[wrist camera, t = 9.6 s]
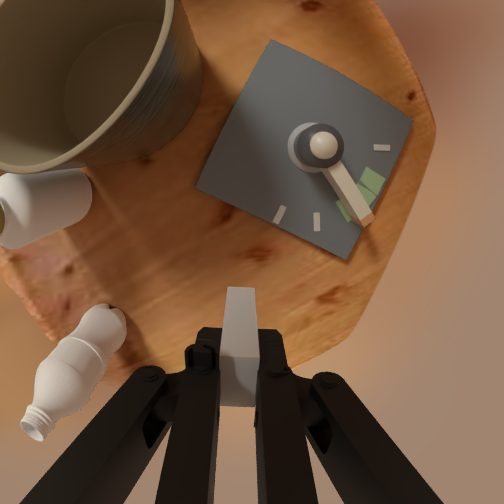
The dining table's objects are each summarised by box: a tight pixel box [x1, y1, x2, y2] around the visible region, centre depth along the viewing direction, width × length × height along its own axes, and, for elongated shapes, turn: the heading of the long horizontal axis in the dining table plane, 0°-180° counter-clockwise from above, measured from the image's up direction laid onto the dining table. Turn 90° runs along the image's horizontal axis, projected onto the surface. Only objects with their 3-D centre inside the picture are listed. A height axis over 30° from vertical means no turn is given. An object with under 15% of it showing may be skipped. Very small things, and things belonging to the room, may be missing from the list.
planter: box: [0, 0, 203, 175], centre depth 25 cm, size 22×22×20 cm
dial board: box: [195, 39, 414, 260], centre depth 37 cm, size 22×22×1 cm
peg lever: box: [293, 123, 376, 227], centre depth 34 cm, size 13×5×6 cm, turn 36°
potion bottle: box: [0, 168, 92, 250], centre depth 30 cm, size 8×8×18 cm
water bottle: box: [20, 303, 127, 442], centre depth 32 cm, size 7×7×25 cm
